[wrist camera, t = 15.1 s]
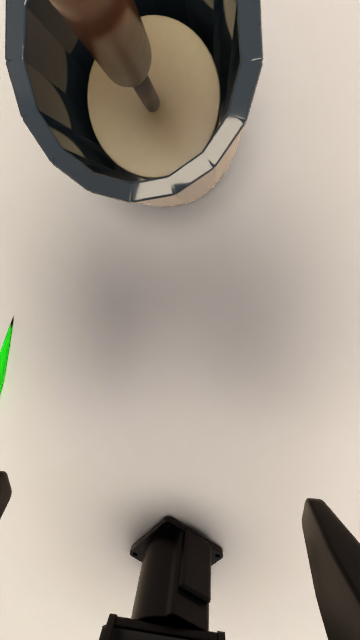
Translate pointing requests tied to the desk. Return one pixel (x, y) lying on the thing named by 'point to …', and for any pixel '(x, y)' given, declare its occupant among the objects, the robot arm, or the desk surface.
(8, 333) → the leaf
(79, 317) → the desk surface
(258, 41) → the faceted dark-rimmed cup
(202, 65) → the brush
